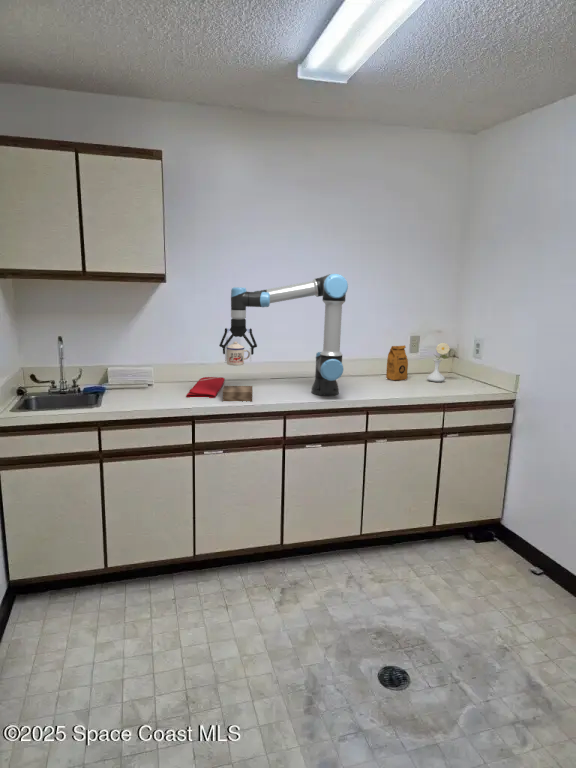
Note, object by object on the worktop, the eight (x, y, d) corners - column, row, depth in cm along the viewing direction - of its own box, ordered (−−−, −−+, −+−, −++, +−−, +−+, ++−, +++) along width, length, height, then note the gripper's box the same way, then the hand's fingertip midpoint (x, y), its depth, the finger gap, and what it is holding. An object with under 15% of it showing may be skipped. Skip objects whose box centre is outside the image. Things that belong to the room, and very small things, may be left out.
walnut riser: (252, 395, 275) (252, 385, 274) (252, 401, 260) (252, 392, 259) (224, 394, 274) (224, 385, 273) (222, 401, 259) (222, 391, 258)
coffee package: (409, 380, 325) (411, 346, 321) (393, 381, 320) (395, 346, 316) (399, 377, 334) (402, 344, 330) (383, 378, 329) (386, 344, 325)
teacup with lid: (227, 365, 257) (227, 342, 255) (225, 362, 266) (225, 340, 264) (251, 365, 260) (251, 342, 258) (248, 362, 269) (248, 340, 267)
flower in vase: (423, 381, 325) (426, 342, 320) (430, 378, 334) (433, 340, 329) (443, 384, 317) (447, 344, 312) (450, 381, 326) (453, 342, 321)
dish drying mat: (185, 398, 266) (185, 391, 265) (199, 382, 306) (199, 376, 305) (215, 399, 266) (215, 392, 265) (225, 383, 306) (225, 377, 305)
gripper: (262, 318, 263) (261, 359, 267) (214, 317, 261) (215, 359, 266) (262, 319, 256) (261, 362, 260) (213, 318, 254) (214, 361, 258)
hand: (238, 360), depth 263 cm, fingers closed on teacup with lid, 12 cm apart
